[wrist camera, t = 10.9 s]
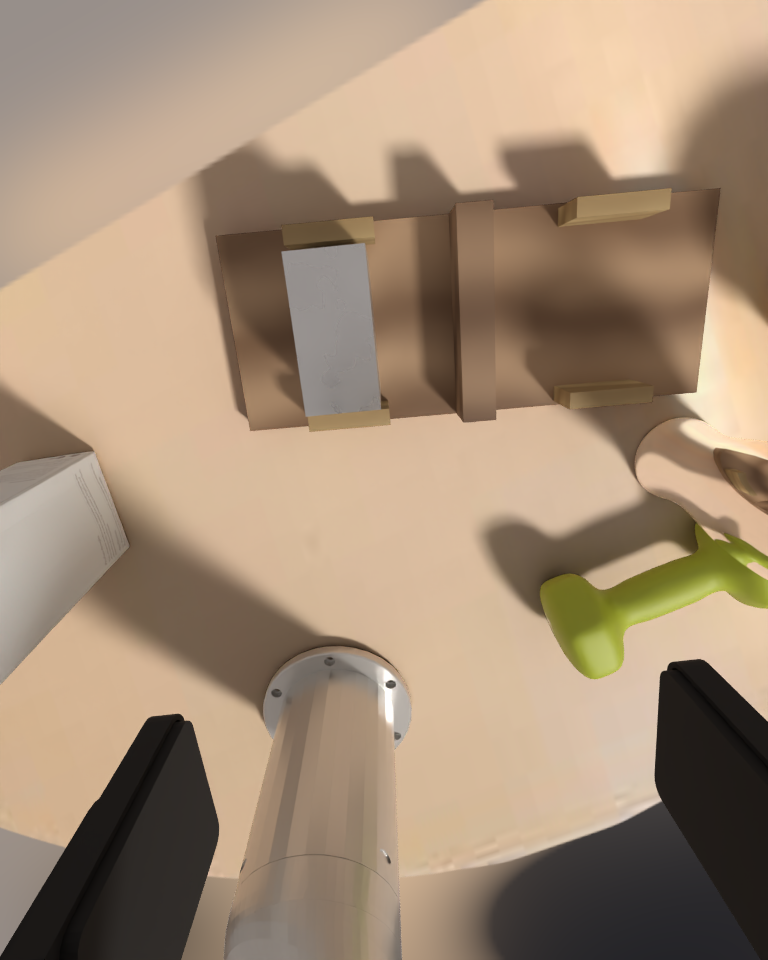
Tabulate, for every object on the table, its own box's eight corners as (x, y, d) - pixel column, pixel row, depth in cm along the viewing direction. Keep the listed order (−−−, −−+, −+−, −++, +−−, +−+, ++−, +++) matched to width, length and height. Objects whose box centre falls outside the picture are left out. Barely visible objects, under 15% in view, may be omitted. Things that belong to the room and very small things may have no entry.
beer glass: (622, 424, 35) (789, 500, 21) (722, 399, 34) (963, 460, 20) (631, 511, 37) (787, 635, 23) (725, 490, 37) (944, 602, 22)
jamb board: (683, 389, 34) (726, 399, 30) (255, 426, 35) (238, 441, 31) (704, 193, 30) (757, 174, 26) (223, 239, 31) (198, 227, 27)
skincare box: (20, 460, 35) (-215, 557, 21) (101, 448, 35) (-84, 538, 21) (62, 562, 38) (-123, 708, 24) (137, 552, 38) (-5, 693, 24)
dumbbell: (728, 479, 37) (808, 517, 30) (751, 565, 39) (830, 618, 32) (521, 566, 39) (551, 620, 32) (555, 642, 41) (590, 708, 34)
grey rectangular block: (380, 389, 33) (381, 409, 26) (320, 395, 33) (305, 416, 26) (368, 258, 30) (364, 243, 23) (303, 265, 30) (281, 251, 23)
